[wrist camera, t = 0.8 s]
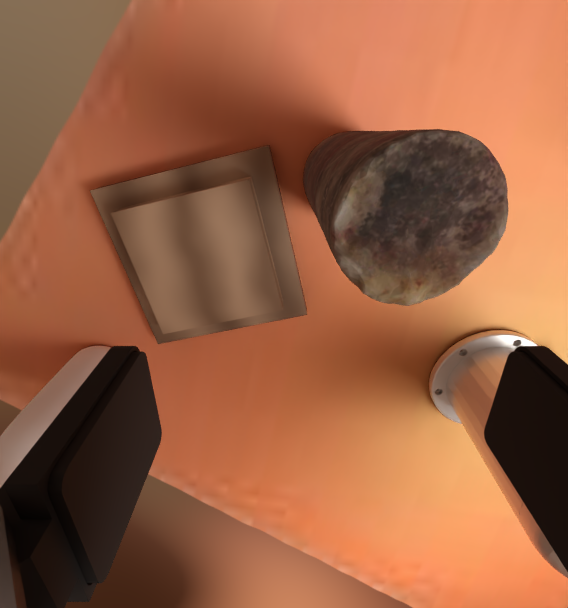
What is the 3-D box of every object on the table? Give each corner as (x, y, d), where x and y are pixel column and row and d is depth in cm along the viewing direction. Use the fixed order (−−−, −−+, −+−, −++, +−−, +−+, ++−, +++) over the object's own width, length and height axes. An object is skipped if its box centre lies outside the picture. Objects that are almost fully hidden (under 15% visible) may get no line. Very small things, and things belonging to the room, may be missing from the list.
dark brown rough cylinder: (377, 115, 30) (509, 94, 12) (398, 200, 33) (528, 285, 15) (291, 151, 31) (293, 180, 13) (318, 229, 34) (350, 341, 16)
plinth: (269, 144, 31) (267, 146, 28) (306, 308, 38) (308, 324, 35) (98, 188, 33) (77, 194, 30) (162, 336, 40) (151, 354, 36)
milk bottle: (75, 335, 40) (-103, 506, 22) (145, 353, 41) (31, 532, 23) (70, 388, 43) (-88, 576, 25) (136, 404, 44) (29, 597, 26)
